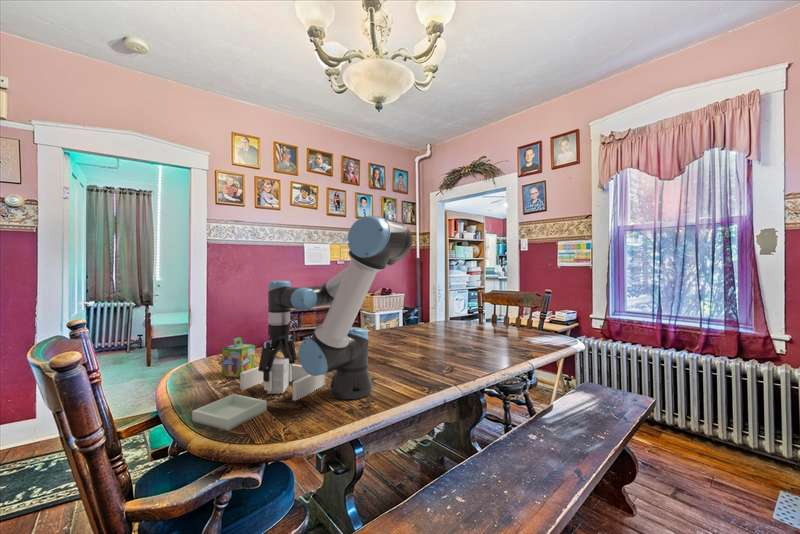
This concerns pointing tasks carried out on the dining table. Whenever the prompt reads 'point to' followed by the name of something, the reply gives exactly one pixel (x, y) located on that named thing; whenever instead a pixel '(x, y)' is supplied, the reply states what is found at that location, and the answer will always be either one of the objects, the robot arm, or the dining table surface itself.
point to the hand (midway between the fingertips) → (278, 385)
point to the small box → (279, 375)
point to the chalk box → (237, 358)
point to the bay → (301, 379)
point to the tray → (229, 411)
